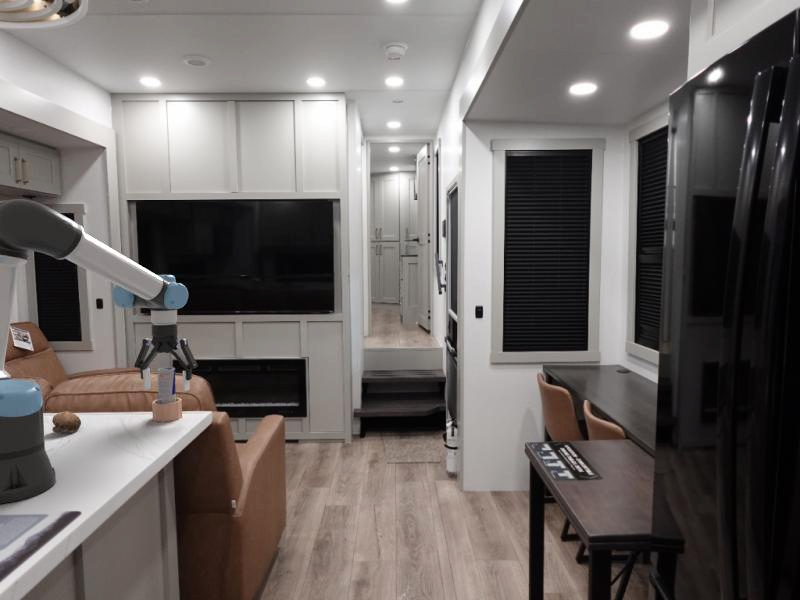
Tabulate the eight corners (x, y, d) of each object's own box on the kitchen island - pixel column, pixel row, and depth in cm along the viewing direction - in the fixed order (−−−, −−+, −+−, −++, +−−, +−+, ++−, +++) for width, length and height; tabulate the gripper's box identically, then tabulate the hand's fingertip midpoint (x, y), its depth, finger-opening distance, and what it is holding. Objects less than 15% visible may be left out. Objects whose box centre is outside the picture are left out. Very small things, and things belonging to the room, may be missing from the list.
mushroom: (39, 423, 150) (53, 405, 151) (63, 426, 158) (76, 409, 158) (53, 440, 147) (67, 421, 148) (77, 442, 154) (90, 424, 155)
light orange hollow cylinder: (173, 422, 162) (172, 404, 161) (147, 421, 163) (146, 404, 162) (187, 414, 170) (186, 397, 170) (162, 413, 171) (161, 397, 171)
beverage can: (179, 412, 169) (178, 366, 168) (170, 416, 164) (169, 370, 163) (164, 411, 169) (163, 366, 168) (155, 416, 164) (154, 369, 163)
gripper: (207, 322, 167) (209, 387, 168) (135, 321, 169) (137, 386, 171) (195, 325, 159) (197, 393, 161) (120, 324, 162) (123, 391, 163)
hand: (166, 389), depth 166 cm, fingers open, 13 cm apart
